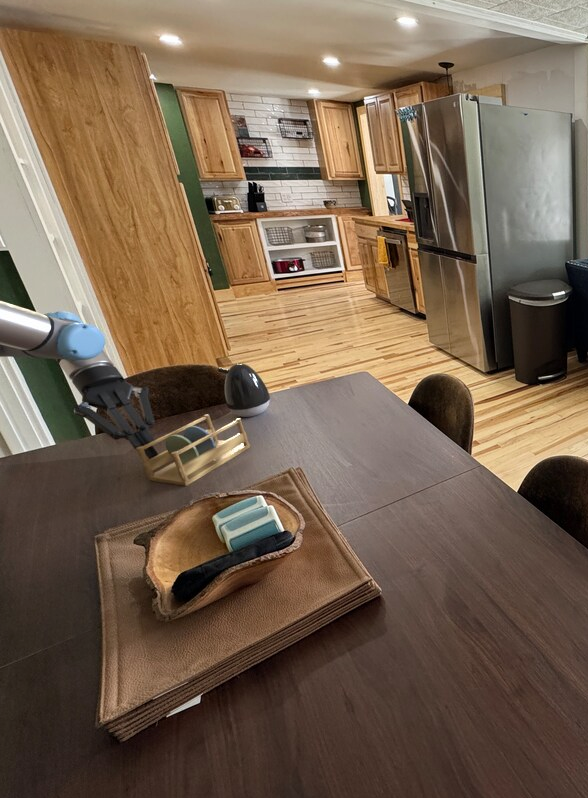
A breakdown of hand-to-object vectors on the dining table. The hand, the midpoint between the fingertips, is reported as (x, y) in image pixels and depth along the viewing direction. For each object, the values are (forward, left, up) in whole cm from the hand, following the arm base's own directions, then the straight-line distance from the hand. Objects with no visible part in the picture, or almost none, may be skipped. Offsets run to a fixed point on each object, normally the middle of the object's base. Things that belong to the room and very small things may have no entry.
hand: (154, 457), depth 106 cm
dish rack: (+7, +2, -4) cm, 9 cm away
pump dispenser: (+6, +31, -6) cm, 32 cm away
